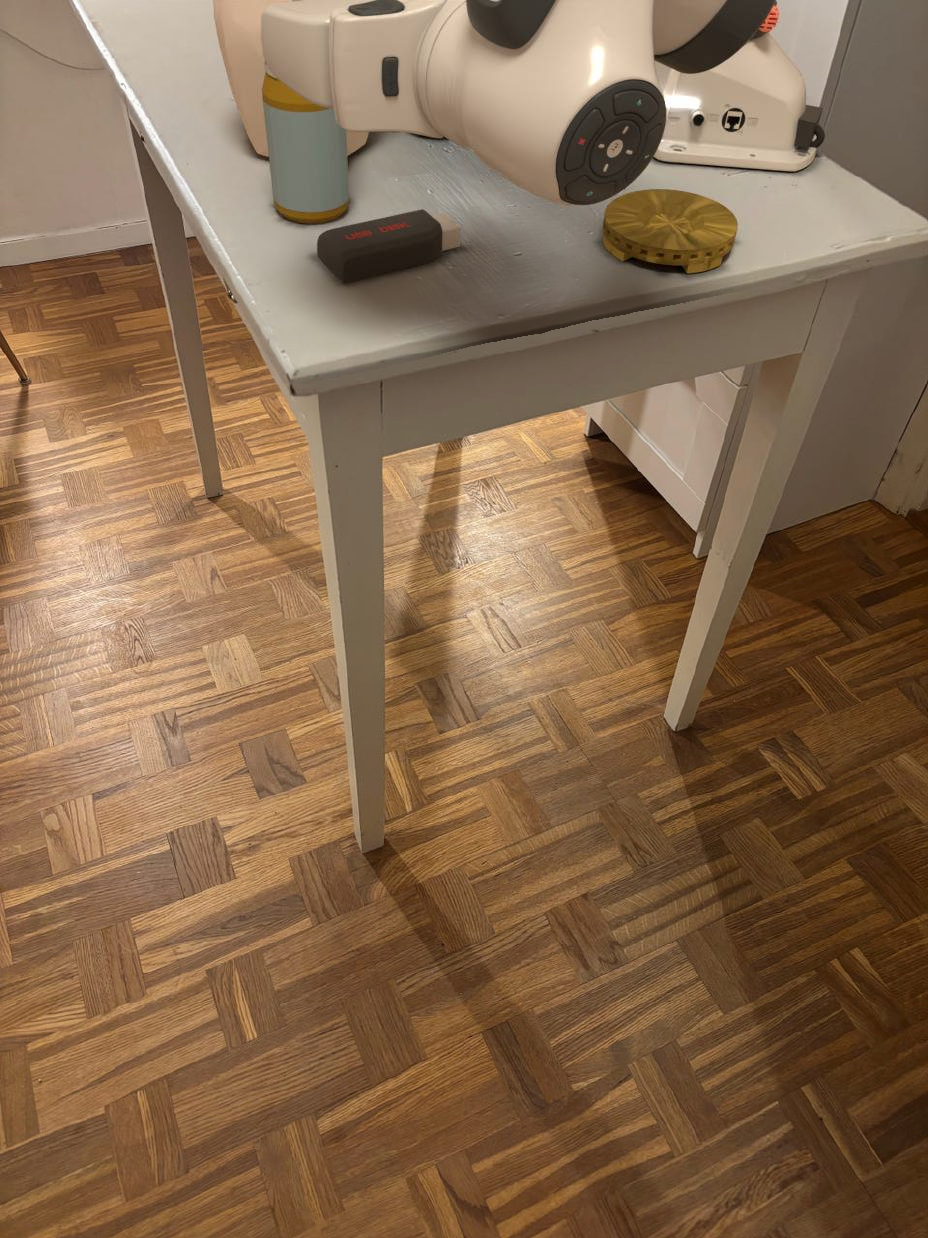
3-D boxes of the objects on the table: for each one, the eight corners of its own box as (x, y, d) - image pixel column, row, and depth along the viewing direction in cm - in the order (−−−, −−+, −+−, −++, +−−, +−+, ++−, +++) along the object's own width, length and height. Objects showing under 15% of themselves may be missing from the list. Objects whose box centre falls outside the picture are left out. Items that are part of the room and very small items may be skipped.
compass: (618, 203, 92) (621, 180, 91) (741, 224, 90) (746, 201, 88) (587, 258, 85) (590, 235, 83) (720, 283, 82) (726, 260, 81)
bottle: (312, 186, 93) (299, 10, 81) (364, 208, 90) (358, 29, 79) (259, 209, 89) (237, 27, 78) (312, 233, 86) (296, 48, 75)
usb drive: (317, 256, 83) (315, 226, 81) (436, 229, 87) (437, 199, 85) (343, 283, 80) (341, 252, 78) (465, 253, 84) (466, 223, 82)
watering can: (260, 214, 88) (232, -24, 74) (214, 109, 105) (184, -102, 91) (420, 197, 92) (421, -33, 78) (351, 98, 109) (342, -106, 95)
